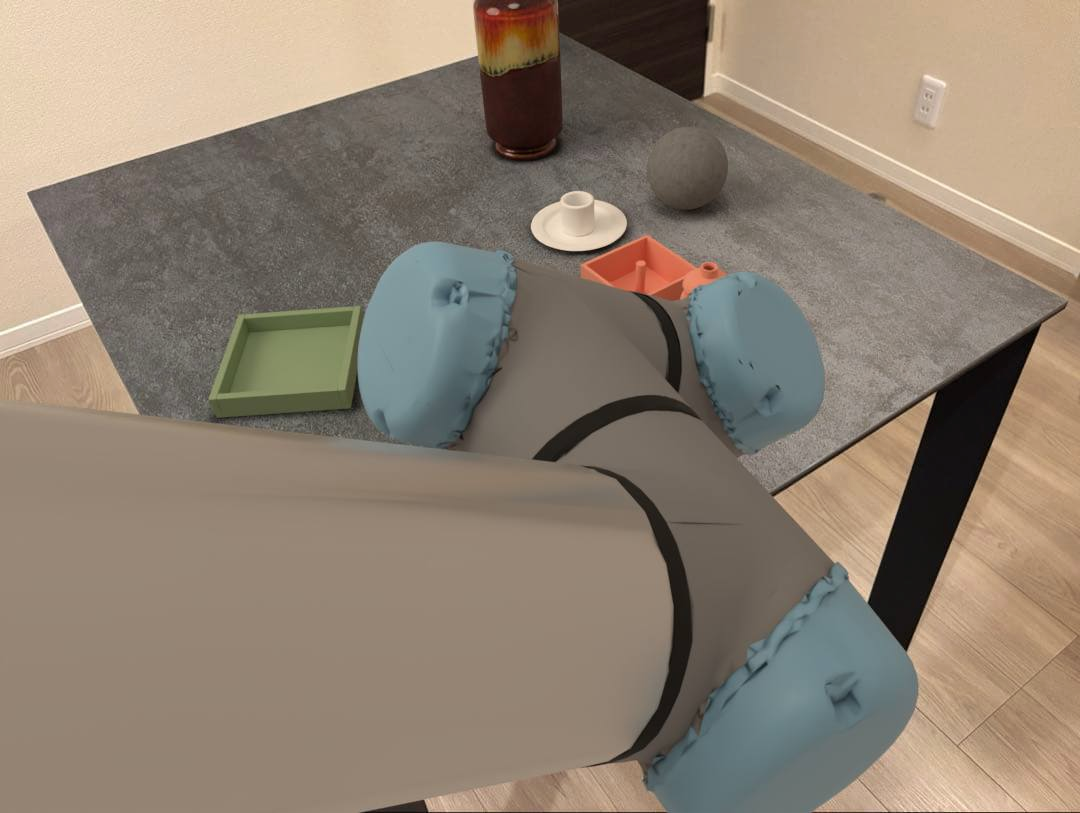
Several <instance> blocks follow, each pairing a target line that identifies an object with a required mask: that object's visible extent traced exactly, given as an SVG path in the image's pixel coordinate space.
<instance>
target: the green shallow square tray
mask: <svg viewBox="0 0 1080 813" xmlns="http://www.w3.org/2000/svg"><path fill="white" fill-rule="evenodd" d="M363 319H364V312H363V309H362V306H361V305H353V306H337V307H324V308H311V309H299V310H298V309H297V310H285V311H282V310H281V311H270V312H269V311H268V312H257V313H256V312H255V313H243V314H238V315H237V317H236V320H235V323H234V326H233V329H232V332H231V335H230V337H229V340H228V343H227V345H226V349H225V350H224V351H225V352H224V354H223V357H222V359H221V362H220V366H219V368H218V371H217V374H216V377H215V379H214V382H213V385H212V389H211V391H210V392H209V393H210V394H209V396H208V400H207V401H208V402H209V405H210V406H211V409H212V411H213V413H214V415H215V417H216V418H217V419H220V418H221V419H222V418H223V419H224V418H235V417H236V418H237V417H249V416H250V417H251V416H263V415H278V414H293V413H294V414H295V413H305V412H307V413H308V412H321V411H334V410H346V409H347V410H348V409H352V404H353V399H354V393H355V386H356V382H357V377H358V367H357V365H358V346H359V339H360V333H361V328H362V323H363Z"/></svg>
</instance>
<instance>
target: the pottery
mask: <svg viewBox="0 0 1080 813" xmlns="http://www.w3.org/2000/svg"><path fill="white" fill-rule="evenodd" d="M579 267H580V268H579V269H580V277H581V278H585V279H588V280H591V281H595V282H598V283H602V284H605V285H608V286H612V287H615V288H619V289H622V290H625V291H635V292H641V293H645V294H648V295H652V296H655V297H658V298H662V299H665V300H669V301H673V300H681V299H684V298H685V297H687V296H688V295H689V294H690V293H692V290H693V289H694V288H696V287H697V286H699V285H700V284H701V285H706V284H708V283H710V282H712V281H714V280H717V279H719V278H721V277H723V276H725V275H728V273H727V272H726V271H724V270H722V269H721V268H719V265H718V263H716V262H712V261H705V262H702V263H701V264H700V267H696V266H695V265H693V264H692V263H690V262H689V261H688V260H686V259H684V258H683V257H681V256H680V255H678V254H677V253H676V252H674V251H672V250H671V249H670V248H668V247H666V246H665V245H663V244H662V243H660V241H657V240H656V239H654V238H653V237H652V236H650V235H648V234H645V235H643V236H641V237H639V238H636V239H634V240H632V241H630V242H627V243H625V244H623V245H620V246H619V247H617V248H614V249H612V250H610V251H608V252H606V253H603V254H601V255H599V256H596V257H595V258H591V259H590V260H588V261H586V262H583V263H581V264H580V266H579Z"/></svg>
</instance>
